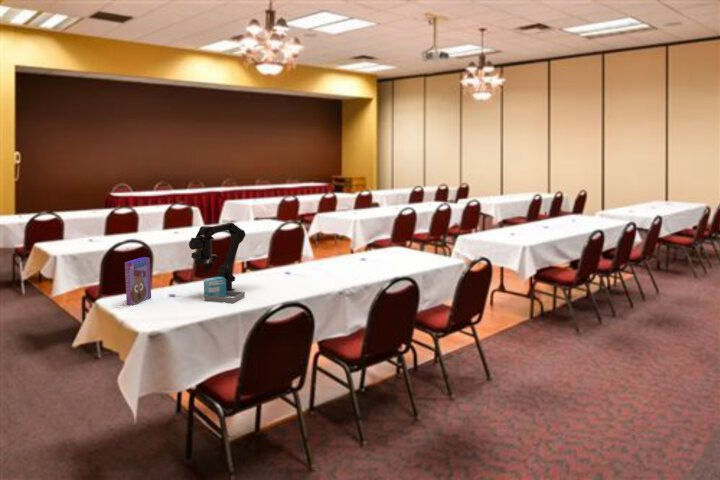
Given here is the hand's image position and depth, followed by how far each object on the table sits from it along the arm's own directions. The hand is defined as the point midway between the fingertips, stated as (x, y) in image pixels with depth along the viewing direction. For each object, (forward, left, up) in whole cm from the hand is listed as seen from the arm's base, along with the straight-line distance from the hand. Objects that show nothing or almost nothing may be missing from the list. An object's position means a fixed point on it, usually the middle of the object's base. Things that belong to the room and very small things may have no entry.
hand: (207, 273), depth 359 cm
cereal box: (+24, -30, -13) cm, 41 cm away
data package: (+6, +8, -13) cm, 17 cm away
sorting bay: (+6, +14, -13) cm, 20 cm away
